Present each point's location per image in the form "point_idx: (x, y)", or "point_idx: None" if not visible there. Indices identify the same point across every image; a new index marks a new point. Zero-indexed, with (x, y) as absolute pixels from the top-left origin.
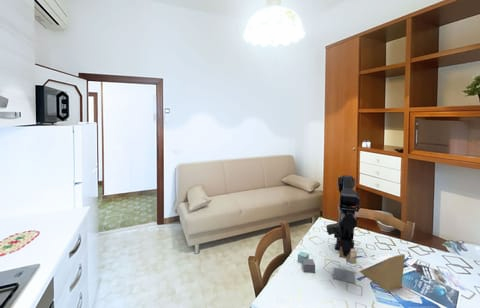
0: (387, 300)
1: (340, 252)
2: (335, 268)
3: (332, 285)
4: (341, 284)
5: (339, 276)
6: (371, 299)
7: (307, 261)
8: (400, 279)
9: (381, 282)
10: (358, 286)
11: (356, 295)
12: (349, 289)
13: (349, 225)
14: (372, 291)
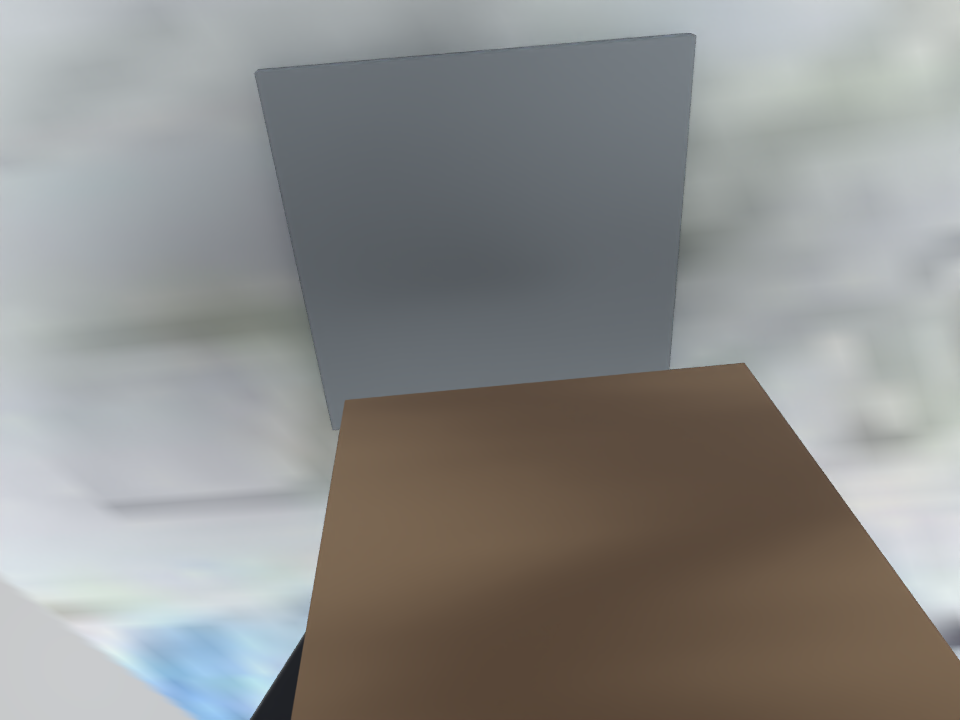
0: (228, 700)
1: (321, 589)
2: (652, 75)
3: (11, 105)
4: (174, 250)
5: (382, 194)
6: (117, 596)
7: None
8: None
9: None
10: (301, 464)
11: (54, 463)
12: (127, 373)
13: None
14: (299, 594)
